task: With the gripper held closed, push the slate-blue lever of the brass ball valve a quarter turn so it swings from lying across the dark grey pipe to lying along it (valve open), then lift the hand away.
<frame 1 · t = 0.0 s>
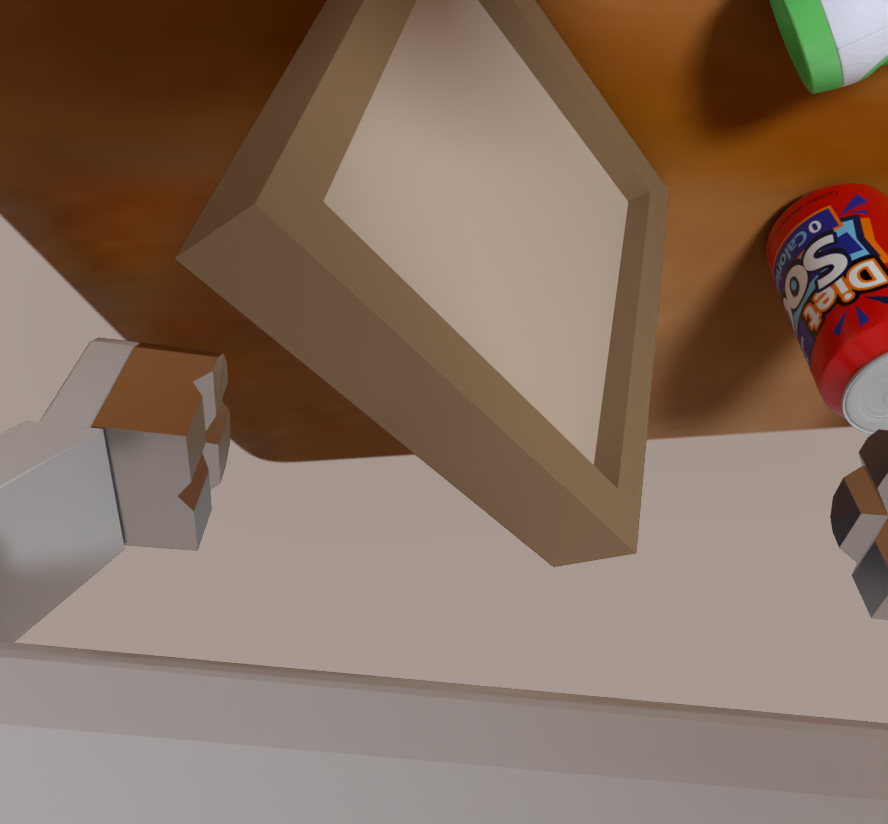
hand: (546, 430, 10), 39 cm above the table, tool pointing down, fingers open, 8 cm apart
photo frame: (460, 120, 49), on the table
soda can: (825, 229, 53), on the table
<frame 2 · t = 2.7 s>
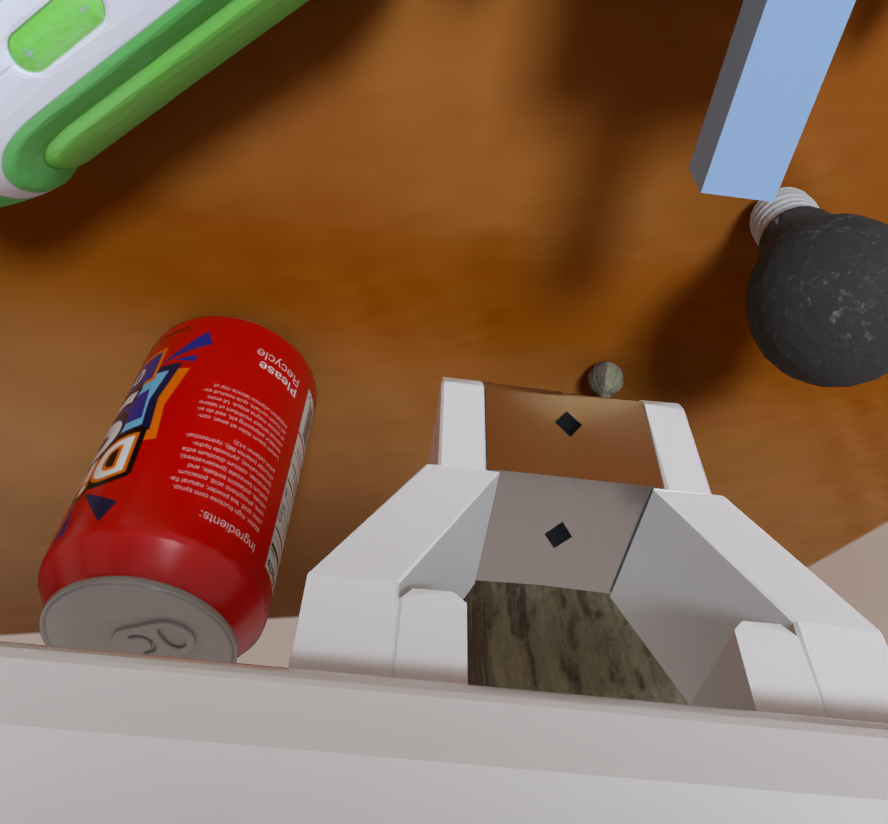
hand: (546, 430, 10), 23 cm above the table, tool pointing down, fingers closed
soda can: (237, 372, 39), on the table
tabletop clock: (595, 459, 42), on the table
light bulb: (773, 204, 33), on the table
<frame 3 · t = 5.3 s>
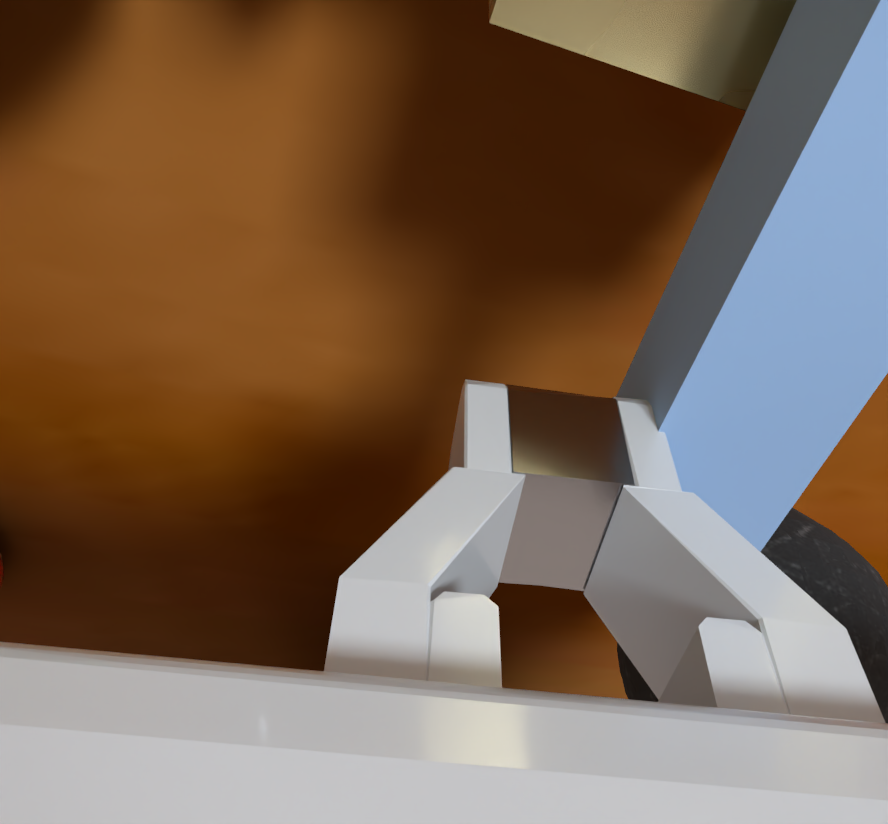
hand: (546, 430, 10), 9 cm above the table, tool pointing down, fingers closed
lever: (846, 190, 8), point 9 cm above the table, hinge at 4.8°, touching gripper
light bulb: (689, 421, 23), on the table
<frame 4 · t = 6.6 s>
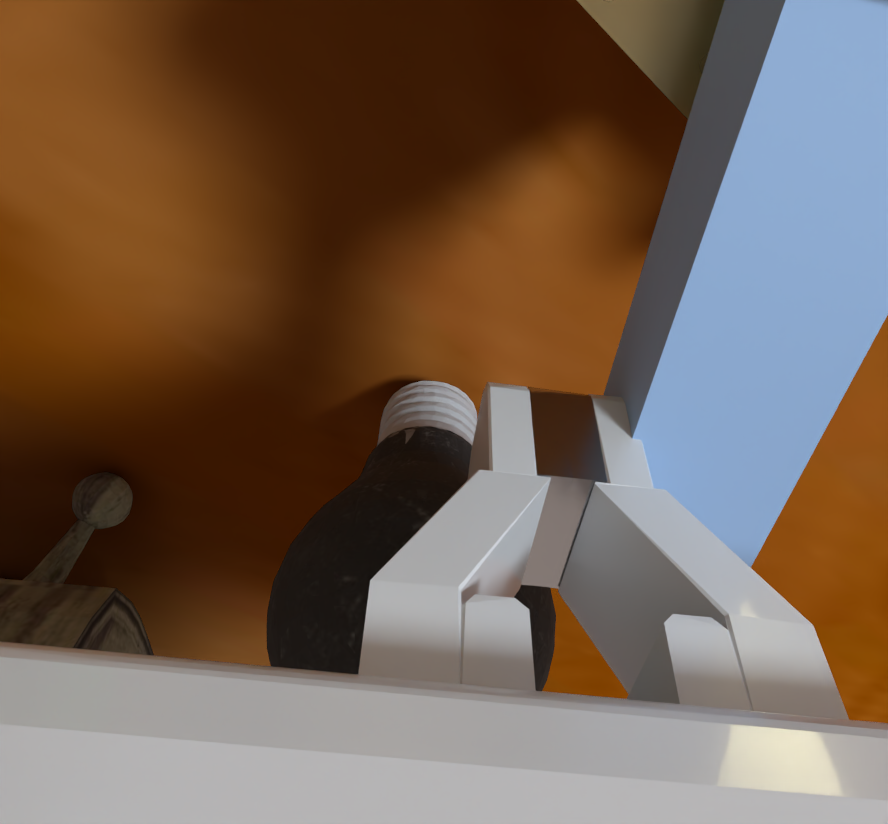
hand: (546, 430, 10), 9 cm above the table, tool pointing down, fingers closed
lever: (801, 172, 8), point 9 cm above the table, hinge at 34.9°, touching gripper
tabletop clock: (63, 582, 28), on the table
light bulb: (433, 394, 22), on the table
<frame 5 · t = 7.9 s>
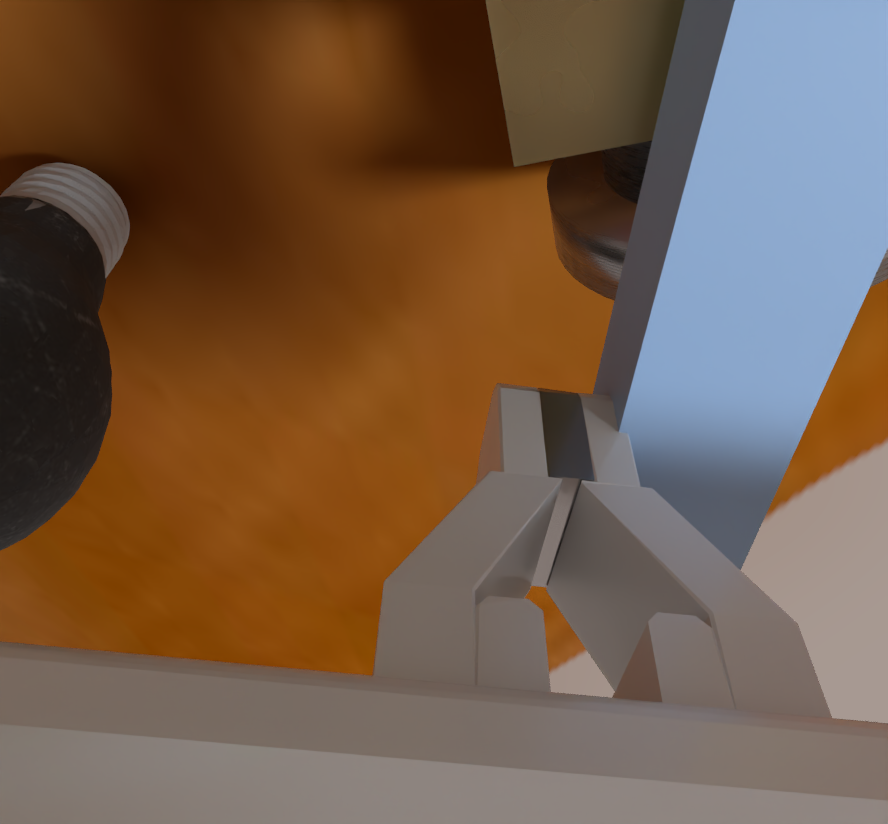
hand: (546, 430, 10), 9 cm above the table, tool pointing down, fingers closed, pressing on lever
lever: (769, 168, 8), point 9 cm above the table, hinge at 73.8°, touching gripper
light bulb: (91, 195, 19), on the table
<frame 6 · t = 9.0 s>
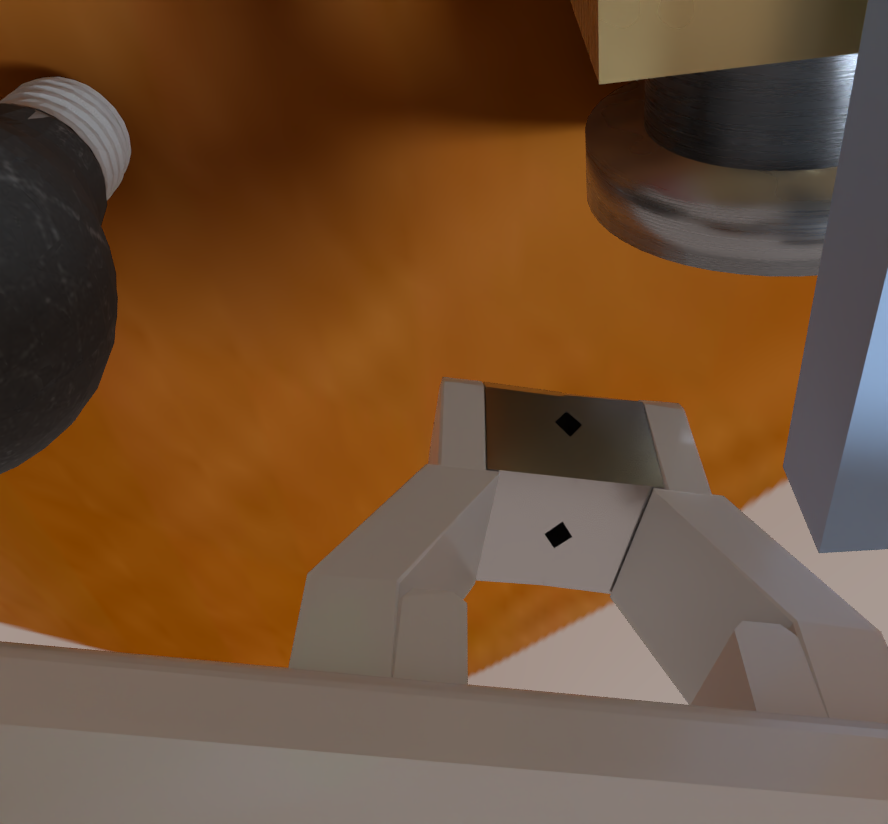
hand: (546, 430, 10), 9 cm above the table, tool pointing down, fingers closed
light bulb: (89, 118, 18), on the table
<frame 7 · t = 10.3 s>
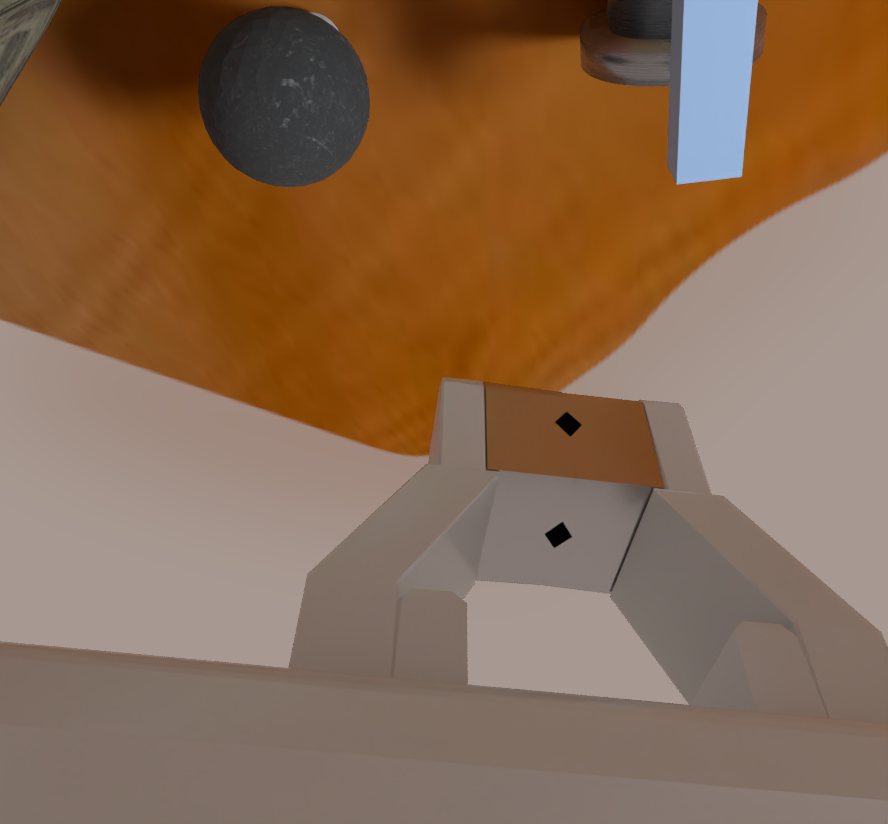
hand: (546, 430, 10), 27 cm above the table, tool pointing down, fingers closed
light bulb: (316, 37, 33), on the table
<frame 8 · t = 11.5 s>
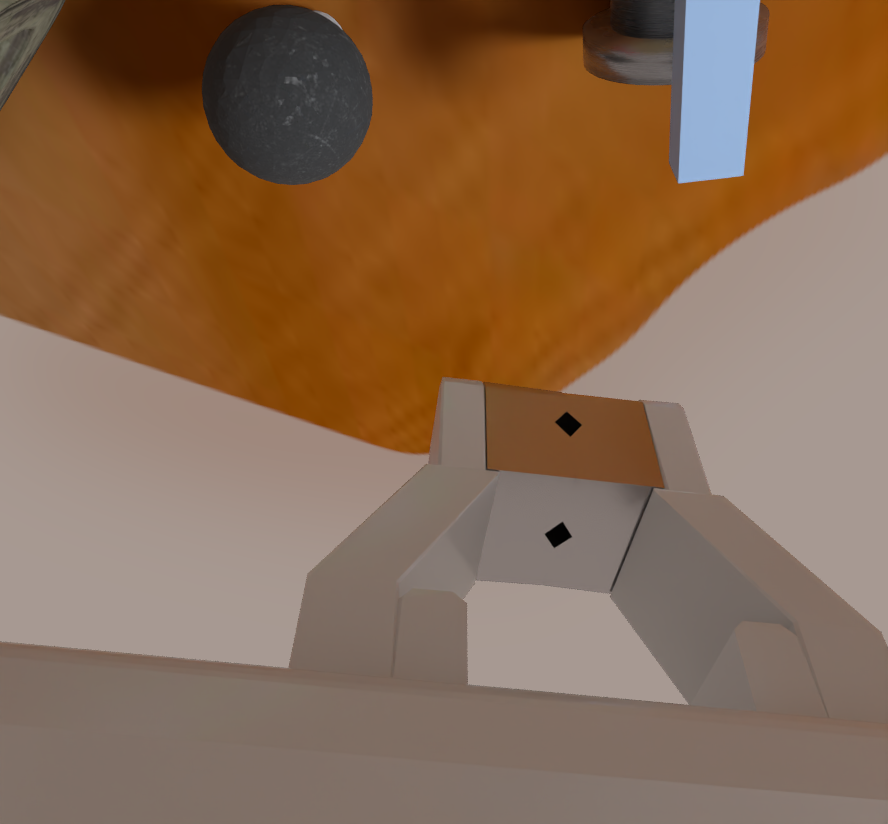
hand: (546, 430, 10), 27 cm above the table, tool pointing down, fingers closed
light bulb: (319, 35, 33), on the table
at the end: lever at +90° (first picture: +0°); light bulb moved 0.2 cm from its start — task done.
